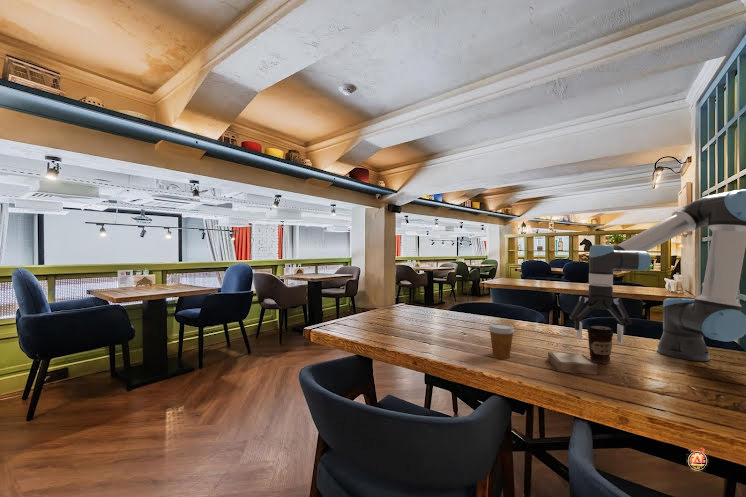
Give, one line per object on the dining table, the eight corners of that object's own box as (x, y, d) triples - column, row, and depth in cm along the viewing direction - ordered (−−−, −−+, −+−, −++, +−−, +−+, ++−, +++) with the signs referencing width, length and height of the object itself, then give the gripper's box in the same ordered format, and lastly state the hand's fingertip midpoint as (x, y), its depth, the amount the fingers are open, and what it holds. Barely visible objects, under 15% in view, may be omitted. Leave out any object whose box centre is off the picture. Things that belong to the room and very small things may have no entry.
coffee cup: (619, 366, 115) (619, 330, 115) (593, 364, 117) (593, 329, 117) (606, 358, 124) (606, 325, 124) (583, 356, 126) (583, 324, 126)
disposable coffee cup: (514, 354, 129) (514, 324, 129) (514, 361, 120) (514, 330, 120) (489, 350, 133) (489, 322, 133) (487, 357, 124) (487, 327, 124)
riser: (583, 362, 119) (583, 353, 119) (597, 374, 108) (597, 365, 108) (548, 359, 122) (548, 351, 122) (558, 371, 111) (558, 361, 111)
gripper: (633, 285, 121) (631, 340, 121) (560, 282, 127) (559, 335, 127) (644, 287, 114) (643, 346, 114) (567, 284, 120) (566, 340, 120)
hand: (599, 340), depth 121 cm, fingers open, 13 cm apart
